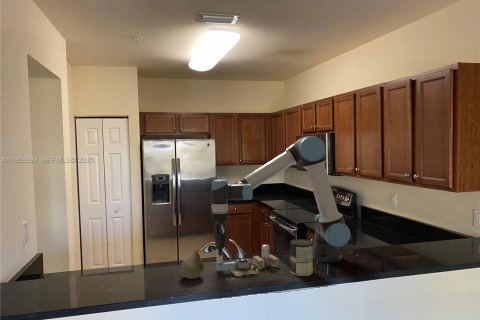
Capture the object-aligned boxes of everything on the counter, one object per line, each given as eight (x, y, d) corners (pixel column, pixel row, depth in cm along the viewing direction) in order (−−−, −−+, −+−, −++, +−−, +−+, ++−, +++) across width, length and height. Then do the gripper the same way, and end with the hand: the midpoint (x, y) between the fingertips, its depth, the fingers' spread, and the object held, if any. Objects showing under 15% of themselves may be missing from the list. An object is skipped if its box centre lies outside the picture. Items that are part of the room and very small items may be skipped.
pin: (260, 265, 173) (260, 244, 173) (267, 264, 174) (267, 244, 174) (263, 267, 169) (263, 246, 169) (270, 266, 171) (270, 246, 170)
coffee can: (286, 272, 162) (286, 242, 161) (297, 267, 170) (297, 238, 169) (306, 277, 155) (306, 246, 155) (316, 271, 163) (316, 241, 163)
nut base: (250, 266, 171) (250, 260, 171) (258, 273, 160) (258, 267, 160) (228, 269, 167) (228, 262, 167) (235, 276, 157) (235, 270, 157)
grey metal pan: (248, 264, 169) (248, 256, 169) (254, 269, 161) (254, 261, 161) (214, 267, 163) (214, 259, 163) (219, 273, 156) (219, 264, 156)
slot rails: (271, 262, 177) (271, 254, 177) (278, 267, 170) (278, 258, 169) (253, 264, 174) (253, 256, 174) (259, 269, 166) (259, 261, 166)
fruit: (207, 276, 157) (207, 249, 157) (194, 283, 149) (194, 255, 149) (189, 272, 162) (189, 246, 162) (176, 278, 154) (176, 251, 154)
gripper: (208, 210, 173) (208, 258, 173) (215, 214, 160) (215, 266, 161) (223, 209, 175) (223, 256, 176) (231, 214, 163) (231, 264, 163)
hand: (219, 261), depth 168 cm, fingers closed
